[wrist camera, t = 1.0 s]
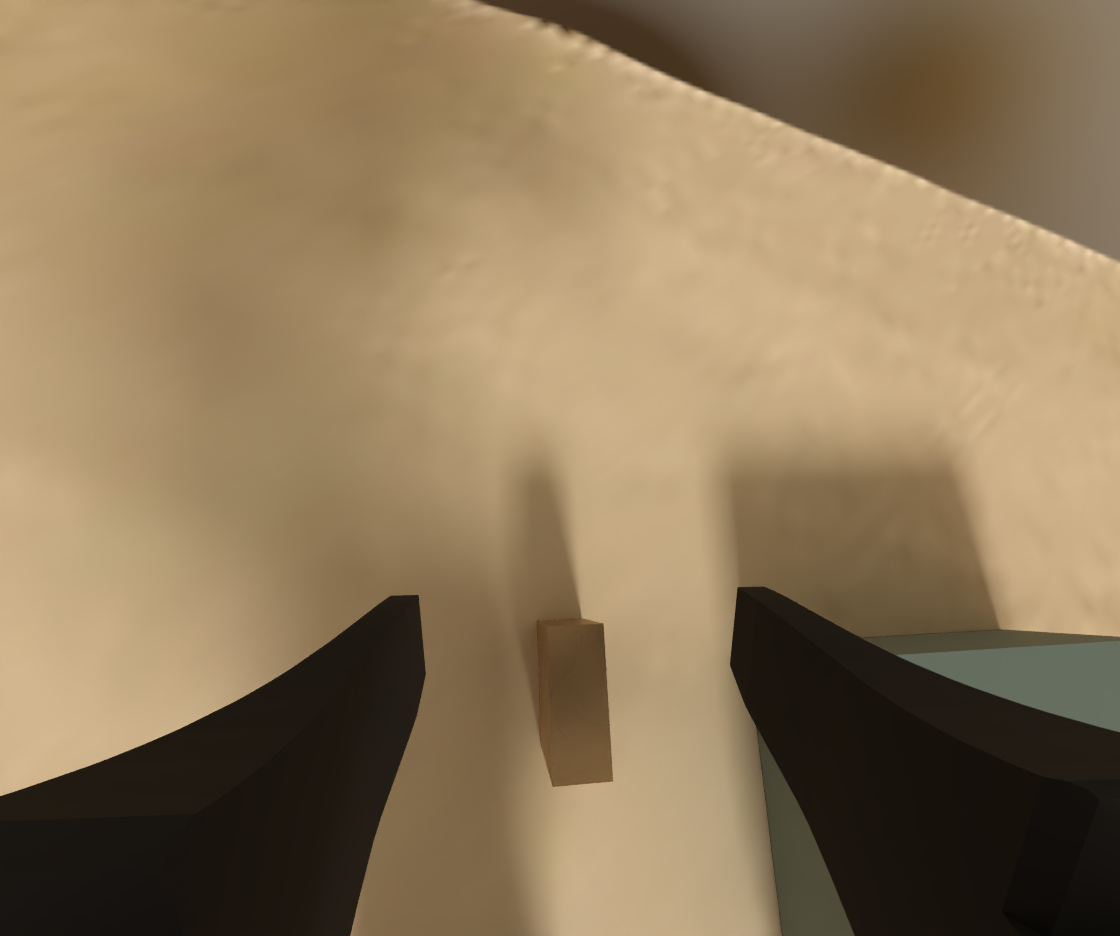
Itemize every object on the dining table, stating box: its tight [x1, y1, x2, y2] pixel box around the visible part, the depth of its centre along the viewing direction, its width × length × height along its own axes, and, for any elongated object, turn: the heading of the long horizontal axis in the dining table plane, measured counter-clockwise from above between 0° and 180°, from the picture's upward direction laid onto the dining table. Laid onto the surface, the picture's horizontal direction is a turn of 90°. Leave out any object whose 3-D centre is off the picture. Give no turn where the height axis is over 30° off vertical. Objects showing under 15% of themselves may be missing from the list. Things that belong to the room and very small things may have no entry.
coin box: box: [757, 630, 1120, 936], centre depth 20 cm, size 16×13×6 cm
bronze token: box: [537, 619, 613, 787], centre depth 20 cm, size 5×2×5 cm, turn 2°
